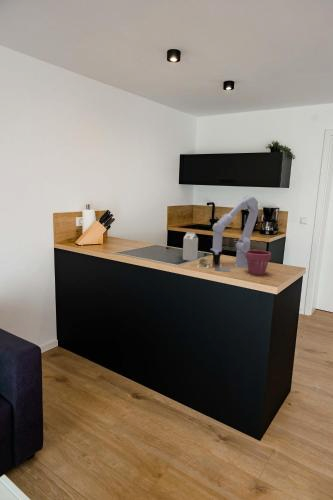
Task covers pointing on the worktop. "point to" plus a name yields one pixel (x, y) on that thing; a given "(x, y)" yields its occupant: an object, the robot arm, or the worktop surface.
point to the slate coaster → (222, 269)
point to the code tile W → (217, 266)
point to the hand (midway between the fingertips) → (216, 263)
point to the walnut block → (215, 264)
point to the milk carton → (190, 246)
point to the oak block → (203, 262)
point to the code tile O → (204, 267)
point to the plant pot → (257, 261)
